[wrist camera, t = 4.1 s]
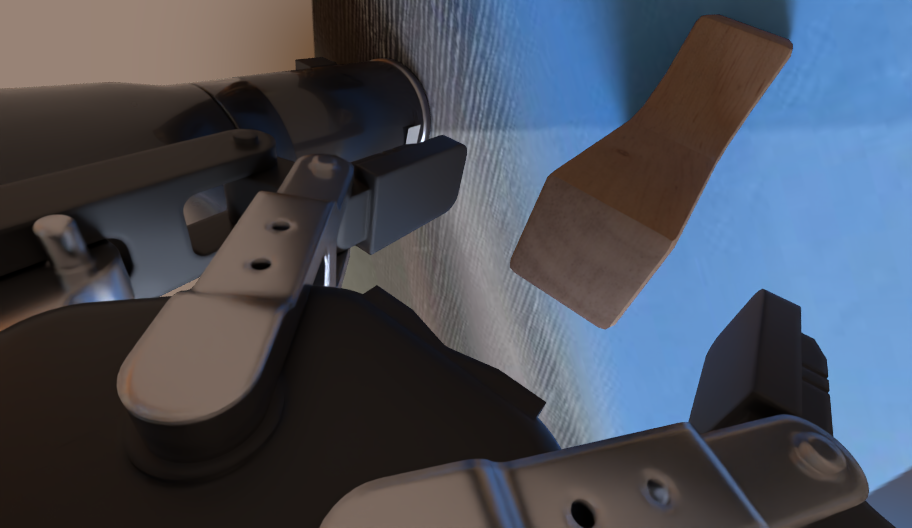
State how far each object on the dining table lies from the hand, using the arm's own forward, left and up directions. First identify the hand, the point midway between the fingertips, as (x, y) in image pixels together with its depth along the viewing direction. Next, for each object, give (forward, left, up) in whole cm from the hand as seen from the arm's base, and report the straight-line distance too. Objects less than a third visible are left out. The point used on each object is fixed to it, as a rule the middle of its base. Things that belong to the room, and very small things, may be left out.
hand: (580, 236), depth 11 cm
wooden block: (0, 0, -21) cm, 21 cm away
